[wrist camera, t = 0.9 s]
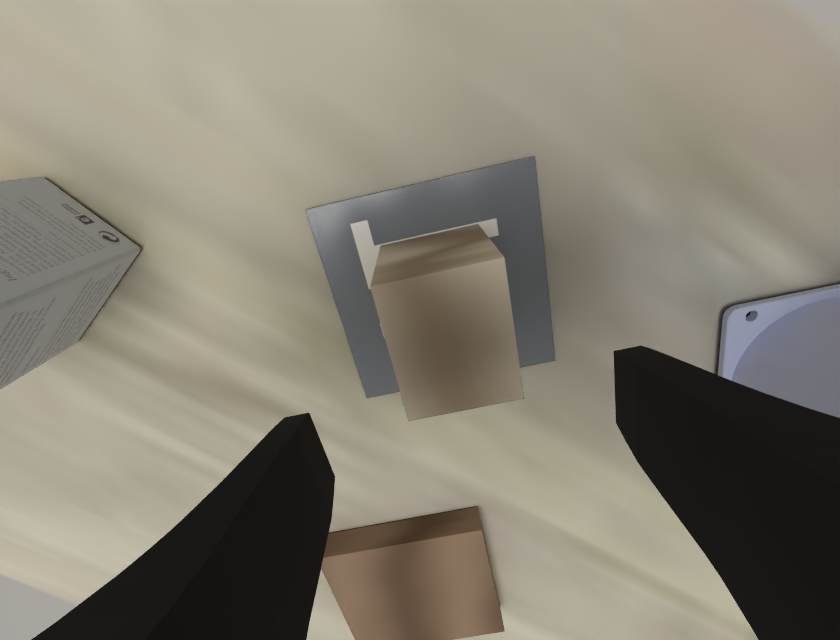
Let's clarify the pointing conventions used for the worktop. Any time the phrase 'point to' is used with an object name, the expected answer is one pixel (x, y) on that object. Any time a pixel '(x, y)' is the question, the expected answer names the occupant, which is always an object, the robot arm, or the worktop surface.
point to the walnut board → (415, 578)
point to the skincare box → (51, 272)
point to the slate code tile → (427, 214)
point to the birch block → (447, 322)
